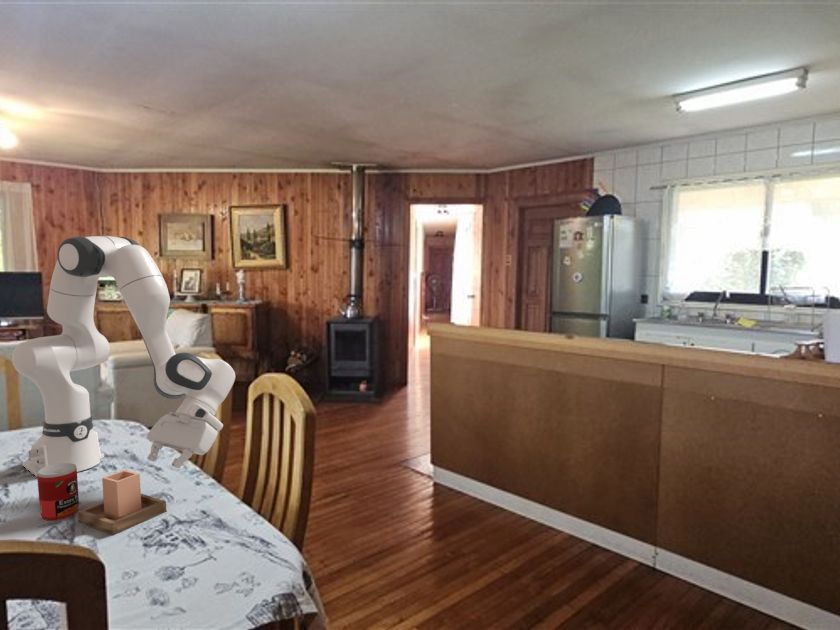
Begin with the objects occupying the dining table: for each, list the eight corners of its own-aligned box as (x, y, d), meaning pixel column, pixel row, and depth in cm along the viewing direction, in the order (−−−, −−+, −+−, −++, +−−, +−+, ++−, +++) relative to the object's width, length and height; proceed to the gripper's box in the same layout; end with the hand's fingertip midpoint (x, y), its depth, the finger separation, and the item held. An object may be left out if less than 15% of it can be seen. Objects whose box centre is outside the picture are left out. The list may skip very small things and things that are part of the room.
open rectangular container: (104, 515, 124) (102, 477, 124) (127, 506, 129) (125, 469, 128) (119, 520, 122) (116, 482, 121) (141, 510, 127) (139, 473, 126)
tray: (78, 522, 123) (77, 511, 123) (132, 500, 134) (131, 490, 134) (113, 535, 117) (112, 524, 117) (166, 511, 128) (165, 501, 128)
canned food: (60, 522, 123) (57, 476, 122) (31, 519, 125) (28, 473, 124) (87, 508, 130) (84, 463, 129) (59, 505, 132) (56, 461, 131)
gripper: (160, 404, 145) (128, 451, 137) (213, 414, 135) (181, 464, 127) (176, 416, 149) (145, 462, 141) (228, 426, 139) (198, 476, 131)
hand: (162, 463), depth 134 cm, fingers open, 8 cm apart
